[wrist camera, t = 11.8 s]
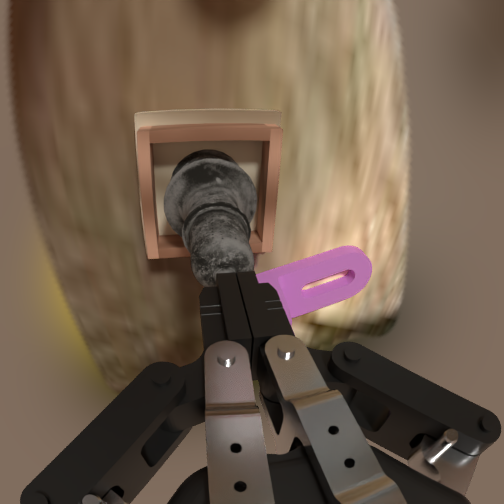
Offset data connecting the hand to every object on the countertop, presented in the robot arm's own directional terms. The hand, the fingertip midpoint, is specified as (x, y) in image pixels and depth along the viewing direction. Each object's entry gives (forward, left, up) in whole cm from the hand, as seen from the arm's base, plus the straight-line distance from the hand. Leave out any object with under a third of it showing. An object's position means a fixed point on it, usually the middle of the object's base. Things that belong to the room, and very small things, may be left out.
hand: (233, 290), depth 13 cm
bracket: (+10, +9, -13) cm, 19 cm away
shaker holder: (0, 0, -13) cm, 13 cm away
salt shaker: (0, 0, -12) cm, 12 cm away
